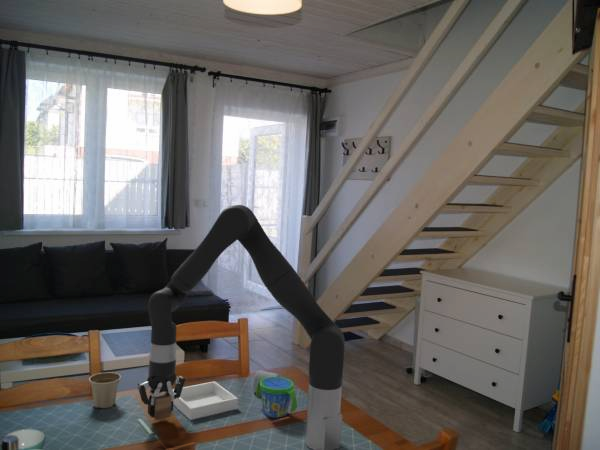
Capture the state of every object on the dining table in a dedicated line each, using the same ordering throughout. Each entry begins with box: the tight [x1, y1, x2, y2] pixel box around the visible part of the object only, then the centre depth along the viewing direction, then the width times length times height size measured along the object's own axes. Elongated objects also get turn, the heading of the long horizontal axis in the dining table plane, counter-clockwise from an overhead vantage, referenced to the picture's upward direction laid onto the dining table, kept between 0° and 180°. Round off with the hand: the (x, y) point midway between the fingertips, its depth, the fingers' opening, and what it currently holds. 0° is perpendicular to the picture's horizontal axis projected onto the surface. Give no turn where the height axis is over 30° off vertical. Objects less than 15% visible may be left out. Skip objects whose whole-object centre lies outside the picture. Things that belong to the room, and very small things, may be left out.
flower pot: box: [88, 371, 122, 409], centre depth 161 cm, size 9×9×9 cm
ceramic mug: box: [252, 369, 281, 394], centre depth 178 cm, size 11×8×8 cm
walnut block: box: [152, 392, 172, 421], centre depth 150 cm, size 4×4×6 cm
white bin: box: [172, 380, 239, 421], centre depth 164 cm, size 16×16×4 cm
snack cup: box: [255, 376, 298, 419], centre depth 161 cm, size 16×10×10 cm
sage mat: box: [137, 418, 155, 436], centre depth 150 cm, size 10×10×1 cm
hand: (160, 414), depth 150 cm, fingers closed on walnut block, 4 cm apart
